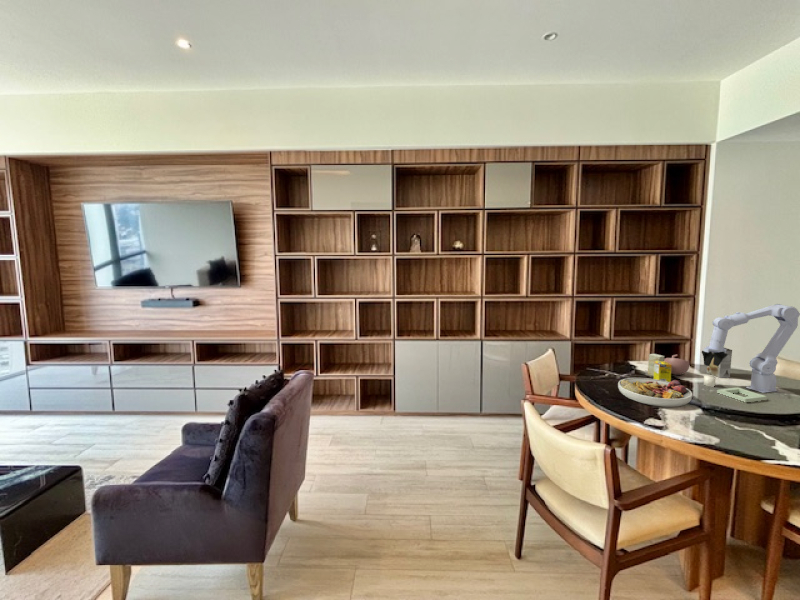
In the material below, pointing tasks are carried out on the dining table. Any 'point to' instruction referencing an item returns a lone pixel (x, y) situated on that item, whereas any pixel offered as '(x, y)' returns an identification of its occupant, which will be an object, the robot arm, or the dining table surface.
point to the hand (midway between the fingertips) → (711, 365)
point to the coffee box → (721, 366)
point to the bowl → (655, 392)
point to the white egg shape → (709, 380)
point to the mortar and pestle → (677, 365)
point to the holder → (751, 395)
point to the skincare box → (651, 362)
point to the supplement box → (662, 371)
